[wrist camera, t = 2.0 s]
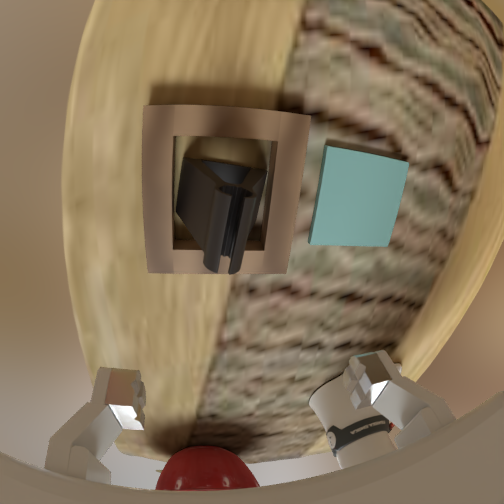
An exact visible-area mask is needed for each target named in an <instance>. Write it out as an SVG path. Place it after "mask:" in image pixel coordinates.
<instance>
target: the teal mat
mask: <svg viewBox="0 0 504 504" xmlns="http://www.w3.org/2000/svg"><path fill="white" fill-rule="evenodd" d="M408 167H409V163H408V162H406V161H402V160H398V159H393V158H389V157H385V156H380V155H376V154H371V153H366V152H361V151H356V150H350V149H345V148H339V147H333V146H327V145H325V146H324V153H323V159H322V166H321V172H320V178H319V184H318V190H317V195H316V201H315V207H314V212H313V217H312V223H311V228H310V233H309V238H308V243H309V244H310V245H343V246H384V247H388V244H389V241H390V237H391V234H392V231H393V227H394V224H395V220H396V217H397V213H398V209H399V205H400V201H401V197H402V193H403V189H404V185H405V181H406V176H407V172H408Z"/></svg>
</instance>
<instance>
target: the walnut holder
mask: <svg viewBox="0 0 504 504" xmlns="http://www.w3.org/2000/svg"><path fill="white" fill-rule="evenodd" d="M310 120H311V116H308V115H302V114H295V113H288V112H281V111H273V110H264V109H254V108H243V107H230V106H211V105H146V106H144V107H143V130H142V194H143V218H144V234H145V247H146V258H147V269H148V273H173V274H229V273H228V270H229V265H230V260H231V259H230V258H229V257H228V256H225V257H224V256H222V255H221V258H220V263H219V269H218V273H214V272H212V271H210V270H208V269H207V268H206V267H205V266H204V264H203V258H204V252H203V250H202V249H201V247H200V246H199V245H198V243H197V242H196V240H175V234H174V172H175V142H176V136H214V137H233V138H248V139H261V140H271V141H272V146H271V155H270V164H269V172H268V181H267V189H266V198H265V206H264V214H263V223H262V231H261V239H260V241H247V242H246V246H245V251H244V255H243V260H242V264H241V269H240V270H239V272H237V273H235V274H286V272H287V267H288V261H289V256H290V250H291V244H292V239H293V233H294V227H295V221H296V215H297V209H298V203H299V196H300V190H301V184H302V177H303V170H304V164H305V157H306V150H307V142H308V135H309V128H310Z"/></svg>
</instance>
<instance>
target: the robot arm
mask: <svg viewBox="0 0 504 504" xmlns="http://www.w3.org/2000/svg"><path fill="white" fill-rule="evenodd" d="M349 364H350V365H349V366H348V367H347V368H346V369H345V371H344V373H343V374H342V375H341V376H339V377H337V378H336V379H334V380H332V381H330V382H328V383H326V384H325V385H323V386H322V387H321V388H319V389H318V390H317V391H316V392H315V393H314V394H313V395H312V397H311V398H310V401H309V405H310V407H311V408H312V409H313V410H314V412H315V413H316V415H317V416H318V418H319V419H320V421H321V423H322V425H323V426H324V428H325V430H326V435H327V439H328V443H329V445H330V447H331V450H332V452H333V455H334V456H335V457H337V459H338V462H339V465H340V468H341V470H338V471H334V472H331V473H327V474H324V475H319V476H315V477H311V478H306V479H302V480H297V481H292V482H287V483H281V484H276V485H269V486H262V487H254V488H245V489H234V490H218V491H165V490H149V489H140V488H131V487H123V486H116V485H111V472H110V471H109V470H108V469H107V468H106V467H105V466H104V465H103V464H102V463H101V462H100V460H101V458H102V457H103V455H104V454H105V453H106V452H107V450H108V449H109V448H110V446H111V445H112V444H113V442H114V441H115V440H116V438H117V437H118V436H119V434H120V433H121V432H122V430H123V429H135V430H144V419H145V415H144V412H143V410H142V409H143V408H144V406H145V405H146V391H145V386H144V383H143V382H142V381H141V374H140V371H139V370H129V369H117V368H107V367H100V368H99V370H98V372H97V376H96V380H95V384H94V389H93V393H92V398H91V402H90V403H89V402H87V403H86V404H85V405H84V406H83V407H82V408H81V409H80V410H78V412H76V413H75V414H74V416H72V417H71V418H70V419H69V420H68V421H67V422H66V423H65V424H64V425H63V426H62V427H61V428H60V429H59V430H58V431H57V432H56V433H55V434H54V435H53V436H52V437H51V438H50V441H49V445H48V451H47V456H46V461H45V467H44V468H41V467H38V466H35V465H32V464H29V463H27V462H24V461H21V460H19V459H16V458H14V457H11V456H9V455H7V454H4V453H2V452H0V504H504V391H501V392H498V393H496V394H495V395H493V396H492V397H491V398H489V399H488V400H486V401H485V402H484V403H482V404H481V405H479V406H478V407H476V408H475V409H473V410H472V411H470V412H468V413H467V414H465V415H463V416H462V417H460V418H458V419H457V420H456V418H455V416H454V415H453V413H452V411H451V410H450V408H449V407H448V405H447V403H446V402H445V400H444V399H443V398H441V397H440V396H438V395H436V394H434V393H433V392H431V391H429V390H427V389H426V388H424V387H422V386H421V385H419V384H417V383H415V382H414V381H412V380H410V379H409V378H407V377H405V376H404V377H402V376H401V370H402V367H401V364H400V363H396V364H394V363H393V361H392V360H391V358H390V357H389V355H388V354H387V352H386V351H385V350H380V351H375V352H369V353H364V354H360V355H355V356H352V357H351V358H350V360H349ZM389 420H390V421H391V423H390V424H389ZM393 424H394V425H393ZM395 425H396V426H397V427H398V428H400V429H401V431H400V432H399V433H398V434H397V435H396V436H395V439H394V440H395V442H396V444H397V446H398V449H396V448H395V446H394V444H393V442H392V440H391V438H390V436H389V434H388V433H389V432H390V431H391V430H392V428H393V427H394V426H395Z"/></svg>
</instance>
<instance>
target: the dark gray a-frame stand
mask: <svg viewBox="0 0 504 504" xmlns="http://www.w3.org/2000/svg"><path fill="white" fill-rule="evenodd" d="M266 176H267V171H266V170H262V169H257V168H251V167H245V166H239V165H233V164H225V163H221V162H214V161H207V160H200V159H193V158H183V162H182V169H181V175H180V182H179V190H178V197H177V205H176V213H177V214H178V216H179V217H180V219H181V220H182V221H183V223H184V224H185V226H186V227H187V229H188V230H189V232H190V233H191V235H192V236H193V237H194V239H195V240H196V242H197V243H198V245H199V246H200V247H201V249H202V250H203V252H204V258H203V264H204V266H205V267H206V268H207V269H208V270H210V271H212V272H214V273H218V269H219V263H220V258H221V255H222V256H224V257H225V256H228V257H229V258H230V259H231V260H230V265H229V270H228V273H229V275H230V274H235V273H237V272H239V270H240V269H241V264H242V260H243V255H244V251H245V246H246V242H247V238H248V235H249V233H250V231H251V230H252V228H253V226H254V224H255V222H256V218H257V214H258V210H259V205H260V201H261V197H262V193H263V188H264V184H265V180H266Z"/></svg>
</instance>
